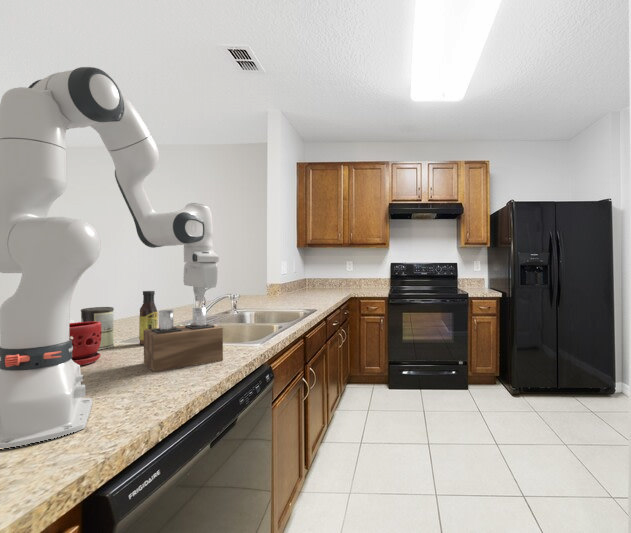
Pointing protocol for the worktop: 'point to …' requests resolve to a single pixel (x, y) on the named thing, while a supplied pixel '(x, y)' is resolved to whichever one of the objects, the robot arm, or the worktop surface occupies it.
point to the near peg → (166, 320)
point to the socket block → (182, 346)
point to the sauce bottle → (147, 315)
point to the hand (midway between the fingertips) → (199, 301)
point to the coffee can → (106, 321)
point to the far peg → (199, 317)
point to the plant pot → (85, 341)
